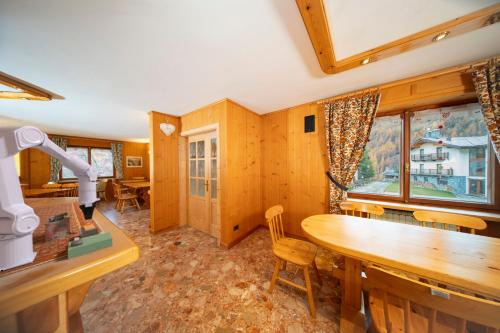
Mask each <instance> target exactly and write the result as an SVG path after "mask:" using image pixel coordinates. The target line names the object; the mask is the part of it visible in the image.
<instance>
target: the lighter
mask: <svg viewBox="0 0 500 333" xmlns="http://www.w3.org/2000/svg"><path fill="white" fill-rule="evenodd" d="M68 215H69V213H68V212H63V213H59V214H53V215H51V216H49V217H47V219H48V221H47V222H44V224H43V226H44V228H45V230H44V234H45V235H44V236H45V239H44V242H45V243H49V242H53V241H56V240H59V239H62V238H64V237H67V236H69V235H71V234H72V231H71V216H68ZM66 216H67V217H66Z"/></svg>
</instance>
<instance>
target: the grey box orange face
mask: <svg viewBox="0 0 500 333" xmlns="http://www.w3.org/2000/svg"><path fill="white" fill-rule="evenodd" d="M98 234H99V228H98V226H97V225H96V224H93V223H90V224H87V225H83V227H80V239H82V238H86V237H90V236H94V235H98Z"/></svg>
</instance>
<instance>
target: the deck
mask: <svg viewBox="0 0 500 333" xmlns="http://www.w3.org/2000/svg"><path fill="white" fill-rule="evenodd" d="M109 246H110V247H113V237H112V235H111V231H109V232H108V231H107V232H105V231H104V230H101V231H100V232H99V233H98V235H94V236H90V237H86V238H80V236H78V237H74V240H72V241H69V242H68V246H67V259H68V260H70V259H74V258H76V257H79V256H83V255H86V254H87V255H88V254H90V253H93V252H96V251H100V250H103V249H106V248H110V247H109Z"/></svg>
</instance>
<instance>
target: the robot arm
mask: <svg viewBox="0 0 500 333" xmlns="http://www.w3.org/2000/svg"><path fill="white" fill-rule="evenodd" d="M28 148H35V149H37V150H39V151H41V152H44V153H45V154H48V155H49V156H51V157H53V158H55V159H56V160H59V165H61V166H63V167H64V168H66V169H68V170H69V171H71V172H72V173H73V176H74V177H77V182H78V183H77V184H78V186H77V187H78V190H77V191H78V201H77V203H78V204H80V205H78V208H79V209H80V210H81V212H82V214H83V218H84V220H85V221H89V220H92V219H93V215H94V212H95V211H94V210H95V209H96V206H97V205H98V204H97V201H100V200H101V198H99V197H97V180H98V176H99V174H100V170H99V169H98V167H97V166H95V165H92V164H91V165H90V164H89V163H88V162H87V161H85V160H83V159H82V158H80V155H78V154H73V153H72V154H71V153H70V154H69V153H68V152H66V151H65V150H64V149H62V147H60V146H58V145H57V144H56V143H55V142H54V141H52V140H50V138H49V137H48V134H47V133H45V132H43V131H42V130H41V129H39V128H38V127H37V126H33V125H22V126H21V125H18V126H16V125H15V126H13V125H11V126H10V125H9V126H5V125H0V272H2V271H1V270H3V271H5V270H9V269H13V268H17V267H20V266H23V265H27V264H31V263H33V262H34V261H35V258H36V256H37V254H38V252H37V251H34V248H33V247H34V246H33V245H34V243H33V233H34V231H35V230H36V229H37V228H38V226H39V225H40V221H41V220H40V217H39V216H38V215H37V214H35V211H34V208H32V207H31V206H29V205H27V204H26V203H25V202H24V201H25V200H24V197H23V192H22V187H21V183H20V182H21V181H20V178H19V174H18V169H17V164H16V160H15V159H16V158H15V155H17V154H19V153H20V152H22V151H23V150H25V149H28Z"/></svg>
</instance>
